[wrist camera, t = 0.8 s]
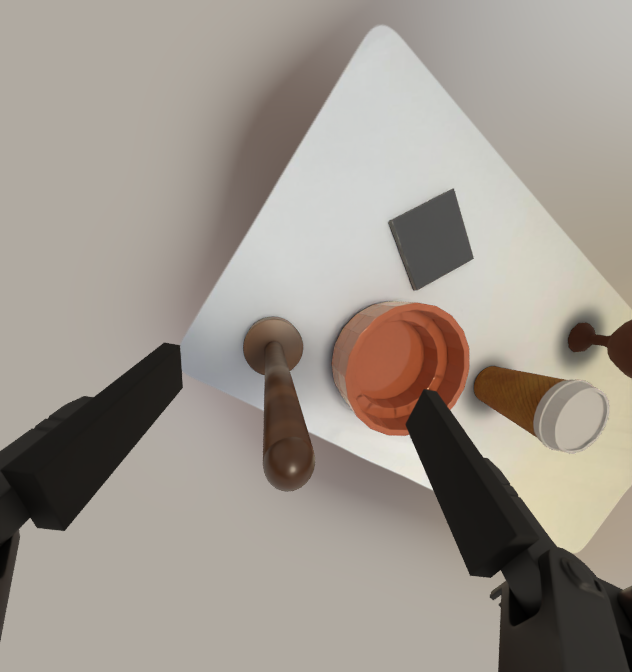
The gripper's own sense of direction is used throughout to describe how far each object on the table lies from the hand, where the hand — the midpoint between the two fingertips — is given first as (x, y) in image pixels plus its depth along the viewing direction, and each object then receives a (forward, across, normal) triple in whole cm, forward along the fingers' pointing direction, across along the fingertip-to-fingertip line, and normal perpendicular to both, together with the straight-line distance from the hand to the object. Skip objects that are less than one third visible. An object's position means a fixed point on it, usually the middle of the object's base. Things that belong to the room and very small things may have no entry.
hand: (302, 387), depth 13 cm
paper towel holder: (+16, -4, -7) cm, 18 cm away
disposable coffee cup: (+22, +33, -10) cm, 41 cm away
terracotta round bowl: (+19, +12, -8) cm, 24 cm away
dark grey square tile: (+25, +15, +9) cm, 30 cm away
